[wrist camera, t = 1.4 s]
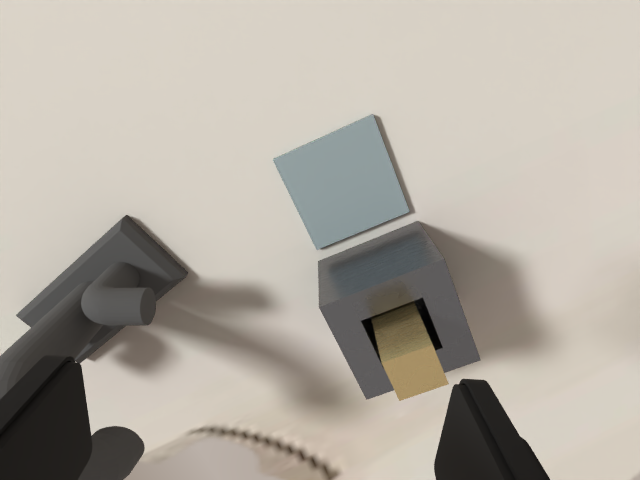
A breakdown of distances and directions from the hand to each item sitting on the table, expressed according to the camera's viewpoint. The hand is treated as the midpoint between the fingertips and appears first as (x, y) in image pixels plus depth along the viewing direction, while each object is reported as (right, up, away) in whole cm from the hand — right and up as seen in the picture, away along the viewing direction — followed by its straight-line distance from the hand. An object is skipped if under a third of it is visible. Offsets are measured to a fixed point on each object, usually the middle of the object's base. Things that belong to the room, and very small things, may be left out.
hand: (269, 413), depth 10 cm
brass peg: (+8, -1, +32) cm, 33 cm away
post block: (+8, 0, +34) cm, 35 cm away
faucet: (-20, -4, +35) cm, 40 cm away
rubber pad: (+4, +10, +29) cm, 31 cm away
